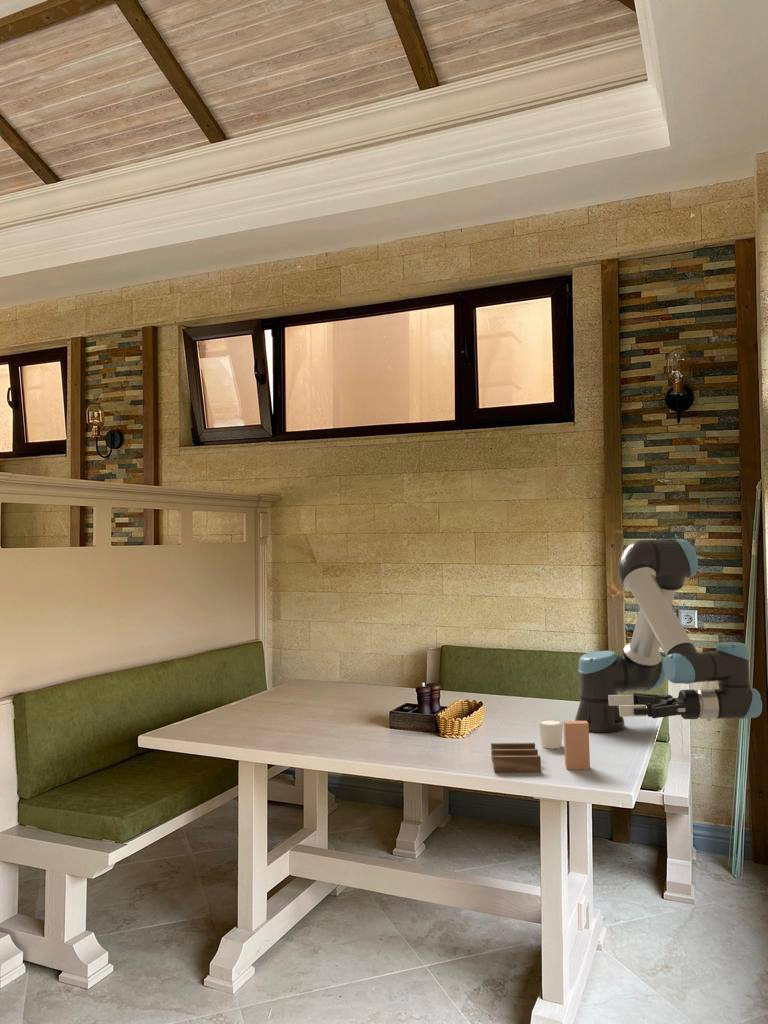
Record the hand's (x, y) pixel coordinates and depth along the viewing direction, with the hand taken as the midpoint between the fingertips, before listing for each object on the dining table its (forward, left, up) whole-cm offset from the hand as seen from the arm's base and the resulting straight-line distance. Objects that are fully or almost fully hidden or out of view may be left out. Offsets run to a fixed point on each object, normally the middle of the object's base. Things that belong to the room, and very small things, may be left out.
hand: (613, 705), depth 206 cm
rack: (-4, -26, -16) cm, 31 cm away
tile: (-1, -10, -16) cm, 19 cm away
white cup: (-22, -14, -17) cm, 31 cm away
